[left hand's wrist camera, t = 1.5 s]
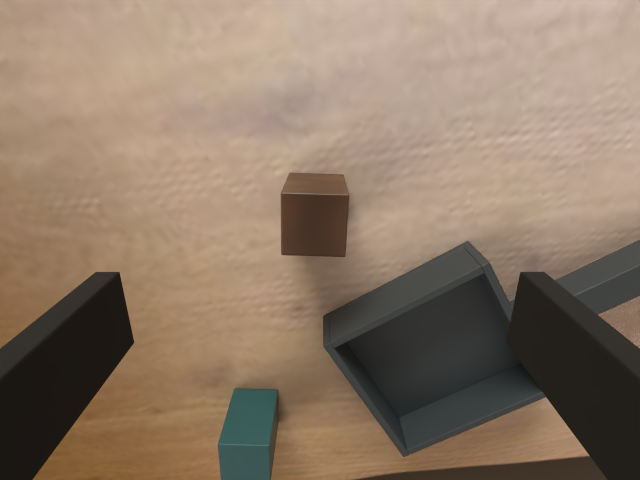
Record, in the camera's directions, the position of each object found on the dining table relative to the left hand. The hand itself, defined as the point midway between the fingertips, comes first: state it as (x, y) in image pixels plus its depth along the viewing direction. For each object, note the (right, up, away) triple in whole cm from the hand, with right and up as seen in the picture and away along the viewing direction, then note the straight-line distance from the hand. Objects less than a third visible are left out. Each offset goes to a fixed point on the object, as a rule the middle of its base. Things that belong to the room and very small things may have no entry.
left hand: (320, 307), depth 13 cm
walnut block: (0, +5, +16) cm, 17 cm away
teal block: (-6, -13, +23) cm, 27 cm away
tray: (+15, -3, +19) cm, 24 cm away
